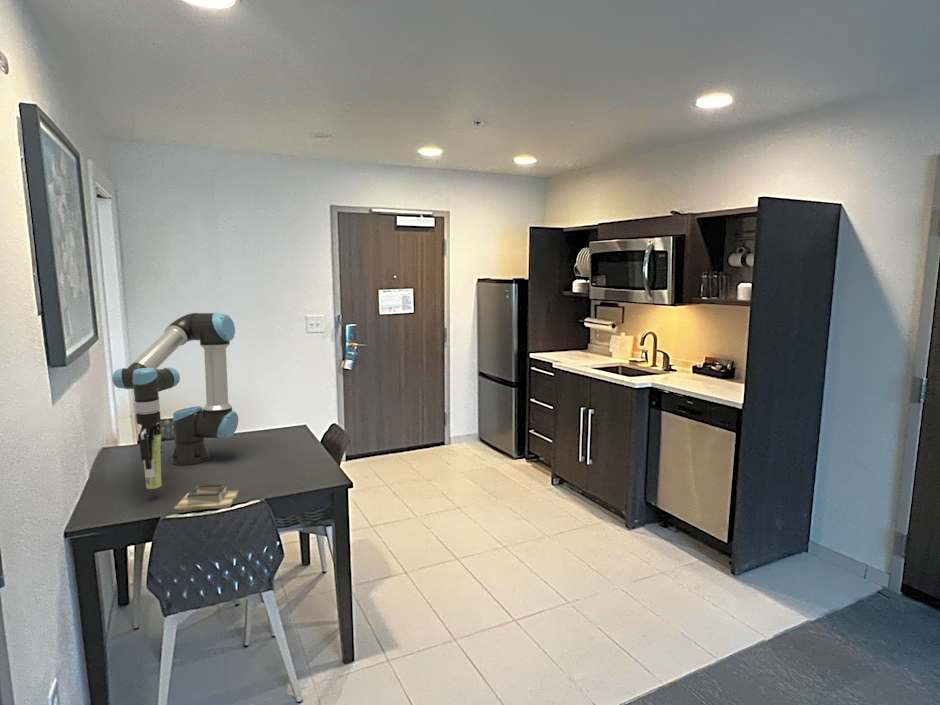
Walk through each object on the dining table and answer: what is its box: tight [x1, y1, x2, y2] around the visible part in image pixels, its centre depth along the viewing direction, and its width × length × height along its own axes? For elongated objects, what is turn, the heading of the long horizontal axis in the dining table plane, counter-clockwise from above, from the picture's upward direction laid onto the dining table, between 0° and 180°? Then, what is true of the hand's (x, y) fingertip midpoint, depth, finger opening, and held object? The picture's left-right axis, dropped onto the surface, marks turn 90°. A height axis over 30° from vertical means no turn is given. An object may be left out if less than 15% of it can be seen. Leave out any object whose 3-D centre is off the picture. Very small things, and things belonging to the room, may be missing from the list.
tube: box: [143, 434, 162, 490], centre depth 209 cm, size 6×5×20 cm
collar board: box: [173, 483, 240, 511], centre depth 208 cm, size 14×18×4 cm
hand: (153, 474), depth 210 cm, fingers closed on tube, 5 cm apart
